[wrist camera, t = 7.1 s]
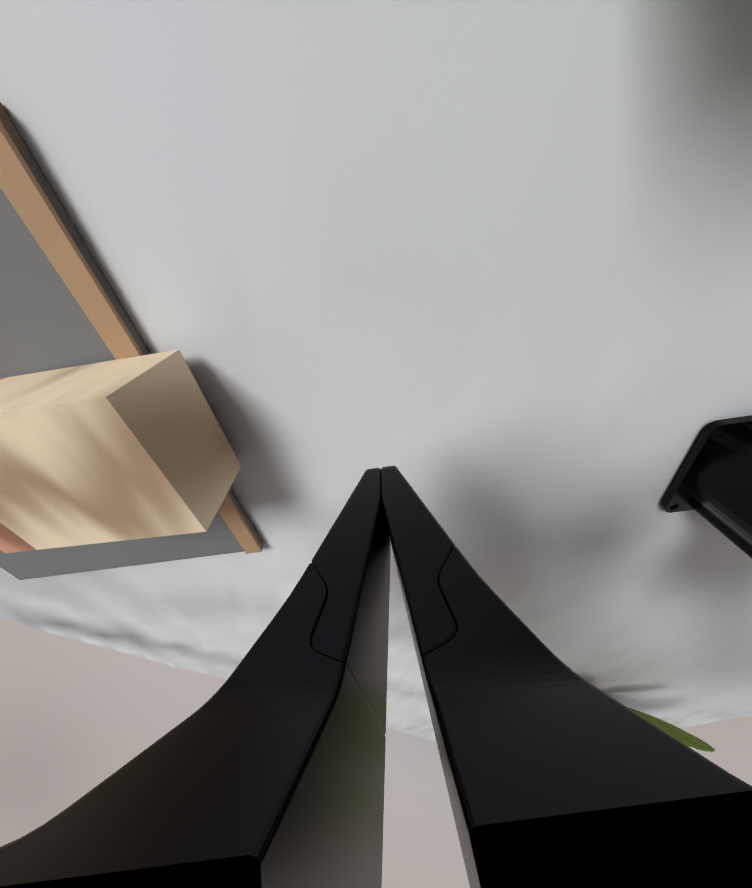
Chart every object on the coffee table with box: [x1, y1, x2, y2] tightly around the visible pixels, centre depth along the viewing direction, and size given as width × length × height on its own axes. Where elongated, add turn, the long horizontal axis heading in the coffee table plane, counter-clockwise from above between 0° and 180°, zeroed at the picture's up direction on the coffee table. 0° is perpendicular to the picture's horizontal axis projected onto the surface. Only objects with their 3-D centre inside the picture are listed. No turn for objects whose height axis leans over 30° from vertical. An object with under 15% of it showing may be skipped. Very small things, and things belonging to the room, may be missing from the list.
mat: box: [0, 102, 264, 580], centre depth 14 cm, size 20×17×1 cm
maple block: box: [0, 350, 242, 553], centre depth 12 cm, size 6×4×9 cm
